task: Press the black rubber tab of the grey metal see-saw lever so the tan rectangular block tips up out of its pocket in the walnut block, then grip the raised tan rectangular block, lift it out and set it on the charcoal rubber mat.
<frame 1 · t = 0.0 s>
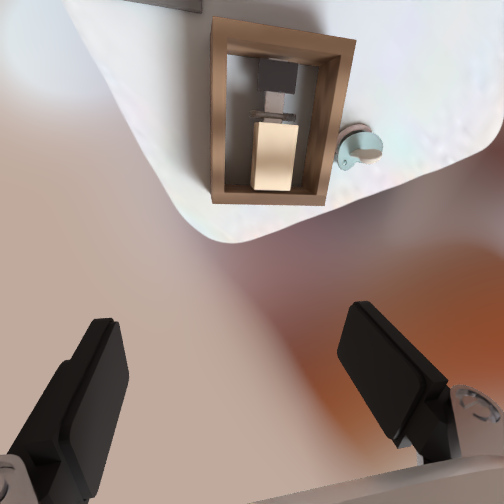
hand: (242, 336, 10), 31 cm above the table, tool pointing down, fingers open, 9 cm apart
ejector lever: (271, 128, 33), point 3 cm above the table, hinge at 0.0°, touching tan rectangular block
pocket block: (267, 117, 35), on the table
pacifier: (351, 145, 40), on the table
tan rectangular block: (269, 156, 35), point 3 cm above the table, touching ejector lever
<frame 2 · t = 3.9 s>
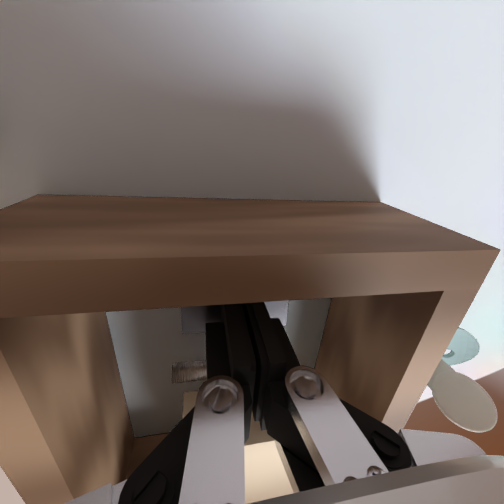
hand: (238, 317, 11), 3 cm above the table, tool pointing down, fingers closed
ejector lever: (233, 390, 13), point 3 cm above the table, hinge at -8.2°, touching tan rectangular block, gripper
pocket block: (228, 329, 15), on the table
pacifier: (405, 332, 19), on the table
tan rectangular block: (232, 442, 14), point 4 cm above the table, tilted 8°, touching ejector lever
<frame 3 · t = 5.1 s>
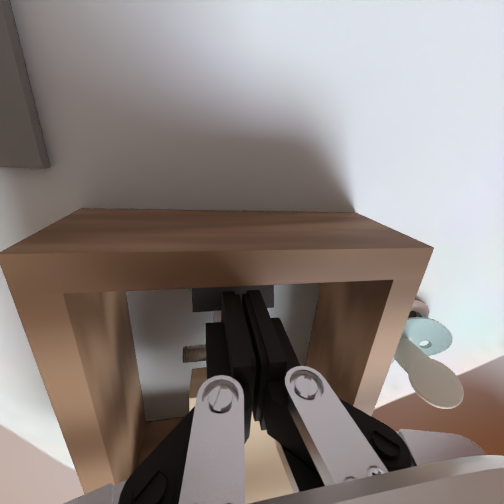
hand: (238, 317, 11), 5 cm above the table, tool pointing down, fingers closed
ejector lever: (234, 374, 15), point 3 cm above the table, hinge at -23.2°, touching tan rectangular block
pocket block: (229, 321, 18), on the table
pacifier: (387, 326, 21), on the table
tan rectangular block: (235, 430, 15), point 5 cm above the table, tilted 23°, touching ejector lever
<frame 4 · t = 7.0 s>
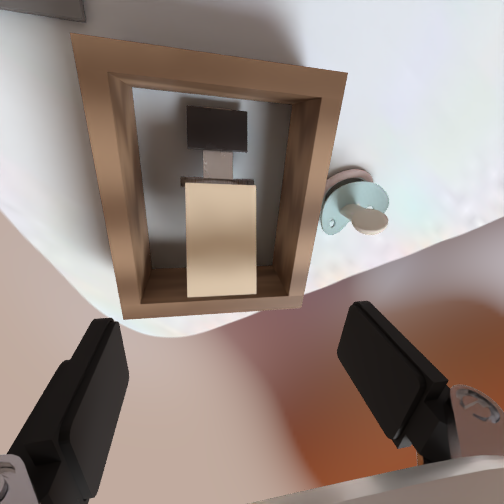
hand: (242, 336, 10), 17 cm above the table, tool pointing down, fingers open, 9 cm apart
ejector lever: (218, 201, 21), point 3 cm above the table, hinge at -23.1°, touching tan rectangular block
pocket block: (216, 177, 23), on the table
pacifier: (341, 197, 27), on the table
tan rectangular block: (219, 240, 21), point 5 cm above the table, tilted 23°, touching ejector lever
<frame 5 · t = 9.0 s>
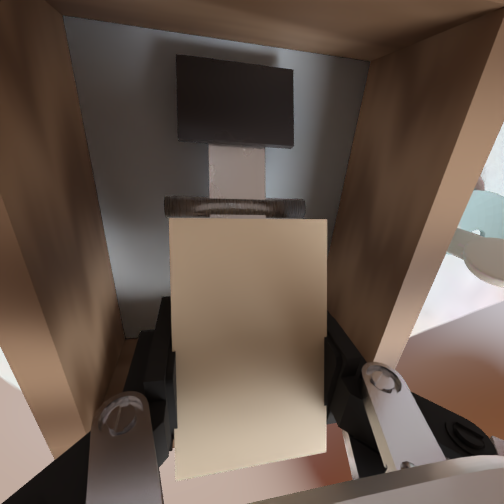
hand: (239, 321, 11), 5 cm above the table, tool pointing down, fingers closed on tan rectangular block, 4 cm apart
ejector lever: (238, 242, 11), point 3 cm above the table, hinge at -23.1°, touching tan rectangular block
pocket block: (230, 194, 13), on the table
pacifier: (427, 215, 17), on the table
tan rectangular block: (239, 317, 11), point 5 cm above the table, tilted 23°, touching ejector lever, gripper
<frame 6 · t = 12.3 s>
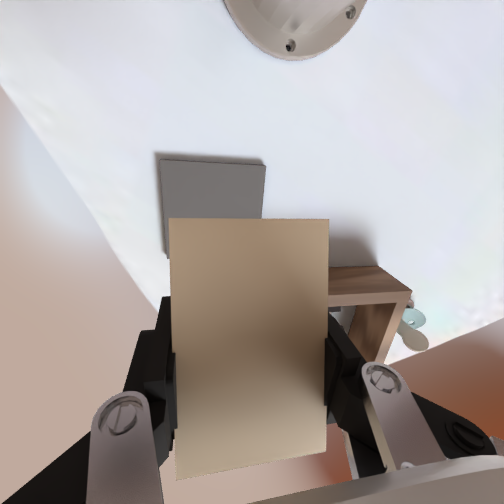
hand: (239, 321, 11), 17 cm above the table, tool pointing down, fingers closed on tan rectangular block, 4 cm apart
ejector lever: (321, 342, 33), point 3 cm above the table, hinge at -23.0°
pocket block: (313, 317, 35), on the table
pacifier: (391, 312, 39), on the table
rubber mat: (214, 212, 26), on the table
tan rectangular block: (240, 316, 11), point 17 cm above the table, tilted 21°, touching gripper
when the fingers open (3 cm above the table, at t = 15.4 s): tan rectangular block drops 3 cm, resting on rubber mat.
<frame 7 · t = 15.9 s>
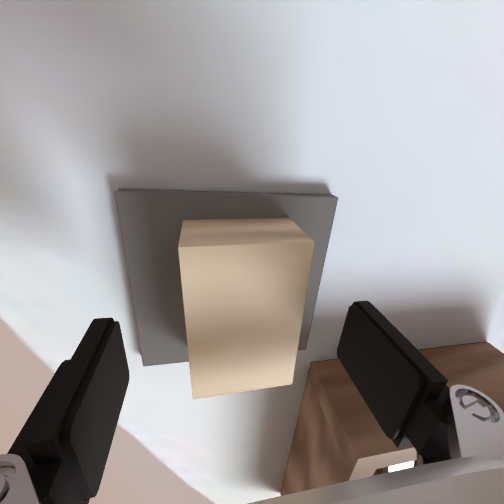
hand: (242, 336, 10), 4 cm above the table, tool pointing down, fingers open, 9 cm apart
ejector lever: (399, 466, 21), point 3 cm above the table, hinge at -23.0°
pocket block: (377, 415, 23), on the table
rubber mat: (231, 282, 14), on the table
tan rectangular block: (237, 290, 13), point 1 cm above the table, touching rubber mat
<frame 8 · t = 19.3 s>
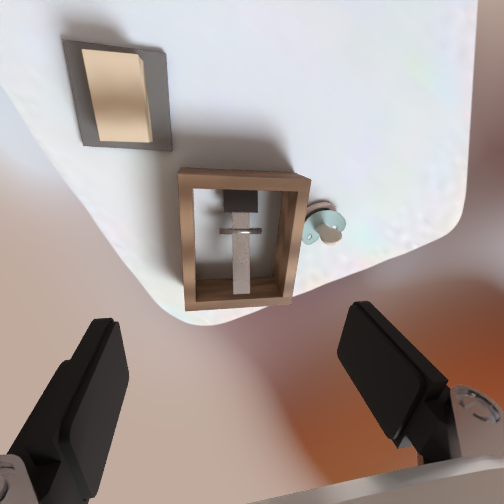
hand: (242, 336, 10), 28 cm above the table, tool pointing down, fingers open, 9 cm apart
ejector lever: (240, 241, 36), point 3 cm above the table, hinge at -23.0°
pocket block: (238, 224, 38), on the table
pacifier: (316, 219, 41), on the table
rubber mat: (124, 101, 29), on the table
tan rectangular block: (125, 102, 29), point 1 cm above the table, touching rubber mat
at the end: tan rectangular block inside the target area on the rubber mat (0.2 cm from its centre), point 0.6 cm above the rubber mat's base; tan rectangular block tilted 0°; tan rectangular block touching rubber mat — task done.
